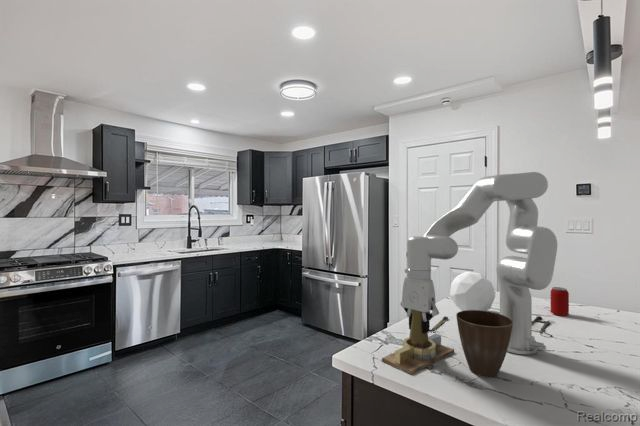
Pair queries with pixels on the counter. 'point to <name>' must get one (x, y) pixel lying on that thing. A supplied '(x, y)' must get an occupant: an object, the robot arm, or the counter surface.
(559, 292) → the beverage can
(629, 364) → the counter surface
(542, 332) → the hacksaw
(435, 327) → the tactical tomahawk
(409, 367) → the board with octagonal collar
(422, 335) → the cork
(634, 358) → the counter surface
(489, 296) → the ball
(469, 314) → the plant pot
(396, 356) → the ring bracket
